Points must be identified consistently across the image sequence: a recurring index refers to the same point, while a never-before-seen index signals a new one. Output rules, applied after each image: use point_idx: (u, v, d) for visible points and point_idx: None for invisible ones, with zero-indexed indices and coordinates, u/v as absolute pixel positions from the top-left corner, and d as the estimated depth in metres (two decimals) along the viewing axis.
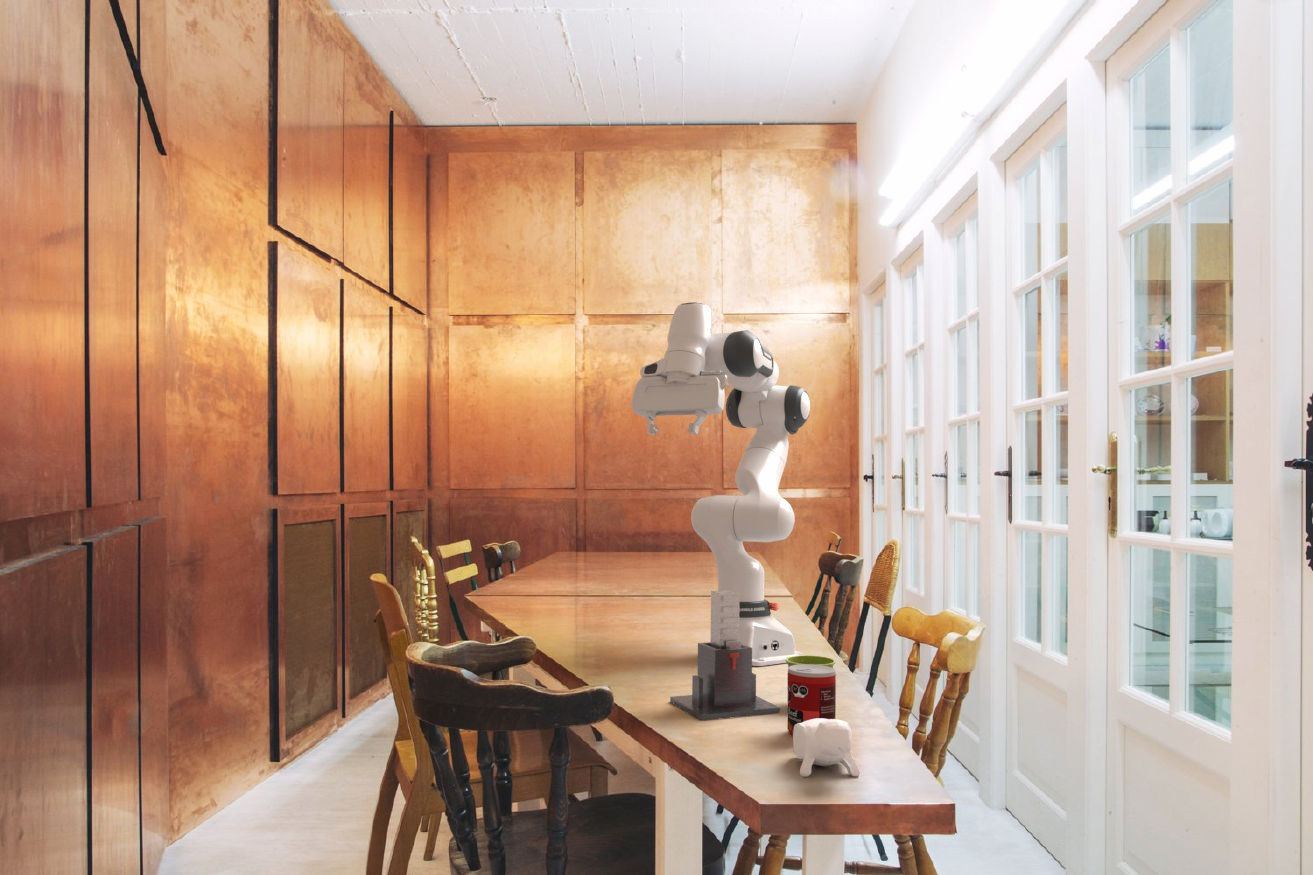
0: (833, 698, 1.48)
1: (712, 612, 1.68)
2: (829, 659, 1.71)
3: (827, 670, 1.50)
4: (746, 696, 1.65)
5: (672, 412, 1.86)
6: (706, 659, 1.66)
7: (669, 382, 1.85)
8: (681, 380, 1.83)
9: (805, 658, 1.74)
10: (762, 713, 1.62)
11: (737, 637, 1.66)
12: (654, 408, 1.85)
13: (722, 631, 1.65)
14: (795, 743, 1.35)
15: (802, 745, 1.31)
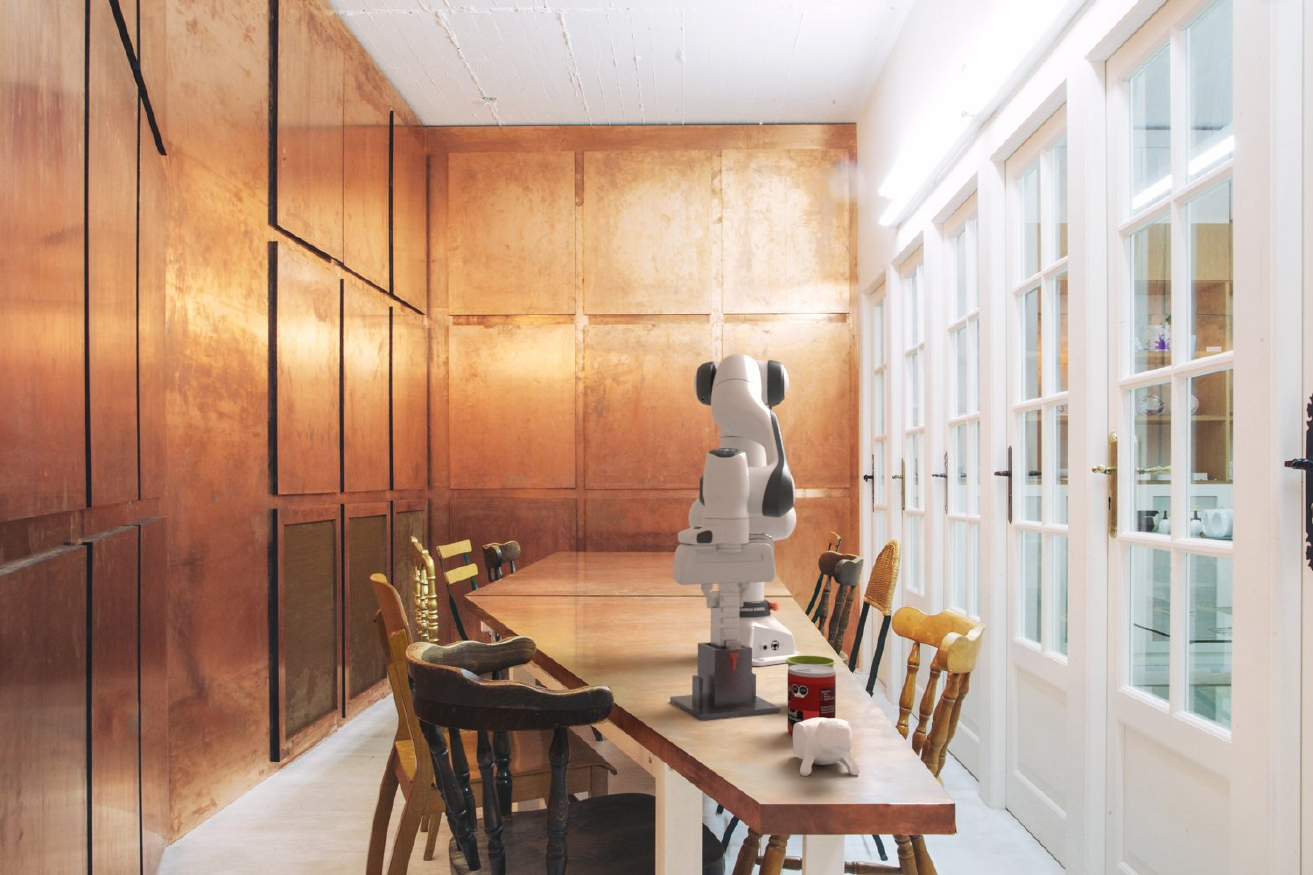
0: (833, 698, 1.48)
1: (712, 612, 1.68)
2: (829, 659, 1.71)
3: (827, 670, 1.50)
4: (746, 696, 1.65)
5: None
6: (706, 659, 1.66)
7: None
8: (739, 551, 1.66)
9: (805, 658, 1.74)
10: (762, 713, 1.62)
11: (737, 637, 1.66)
12: (708, 582, 1.65)
13: (722, 631, 1.65)
14: (794, 742, 1.35)
15: (802, 744, 1.32)
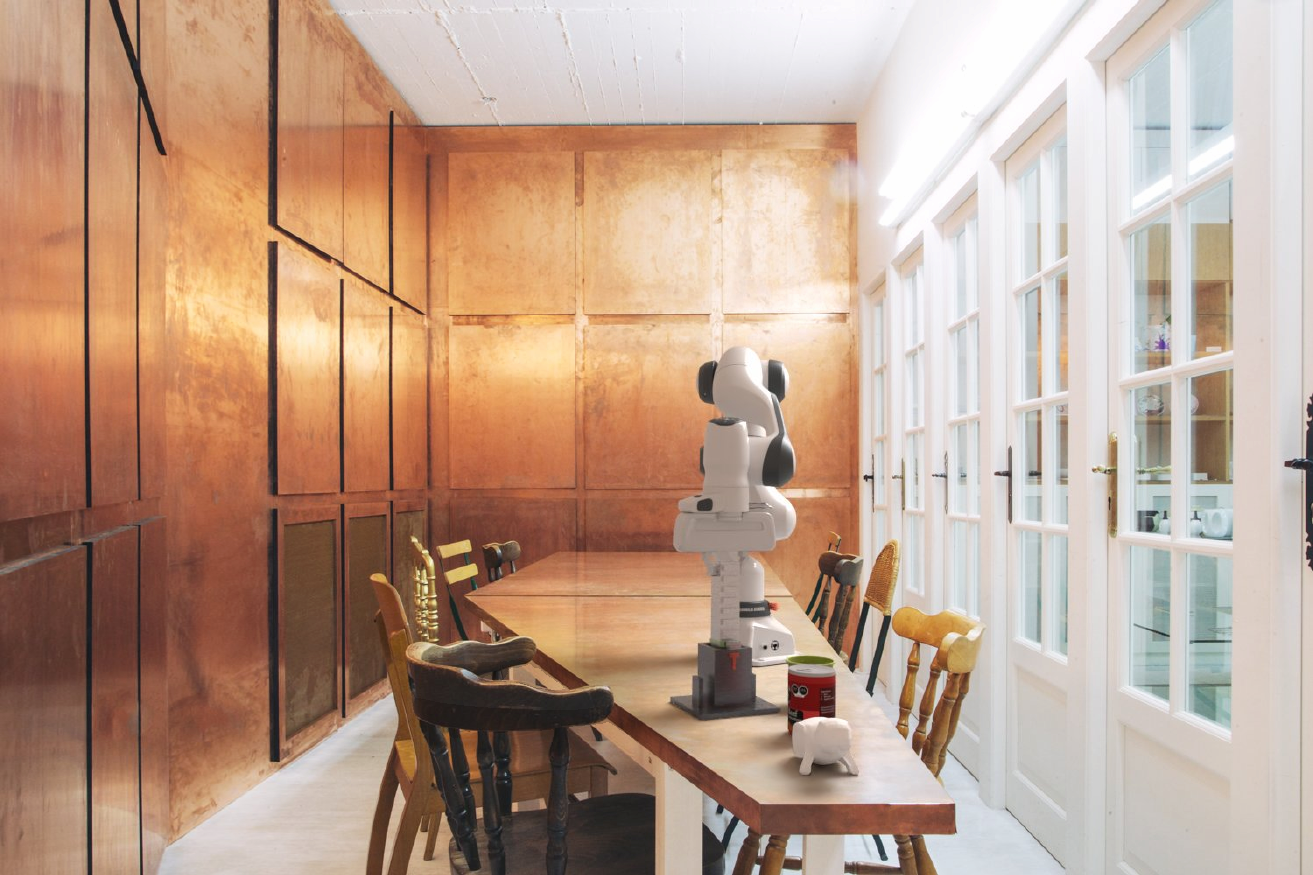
0: (833, 698, 1.48)
1: (712, 582, 1.69)
2: (829, 659, 1.71)
3: (827, 670, 1.50)
4: (746, 696, 1.65)
5: None
6: (706, 659, 1.66)
7: (724, 520, 1.66)
8: (739, 519, 1.67)
9: (805, 658, 1.74)
10: (762, 713, 1.62)
11: (737, 606, 1.67)
12: (709, 550, 1.65)
13: (722, 600, 1.65)
14: (794, 742, 1.36)
15: (801, 743, 1.32)
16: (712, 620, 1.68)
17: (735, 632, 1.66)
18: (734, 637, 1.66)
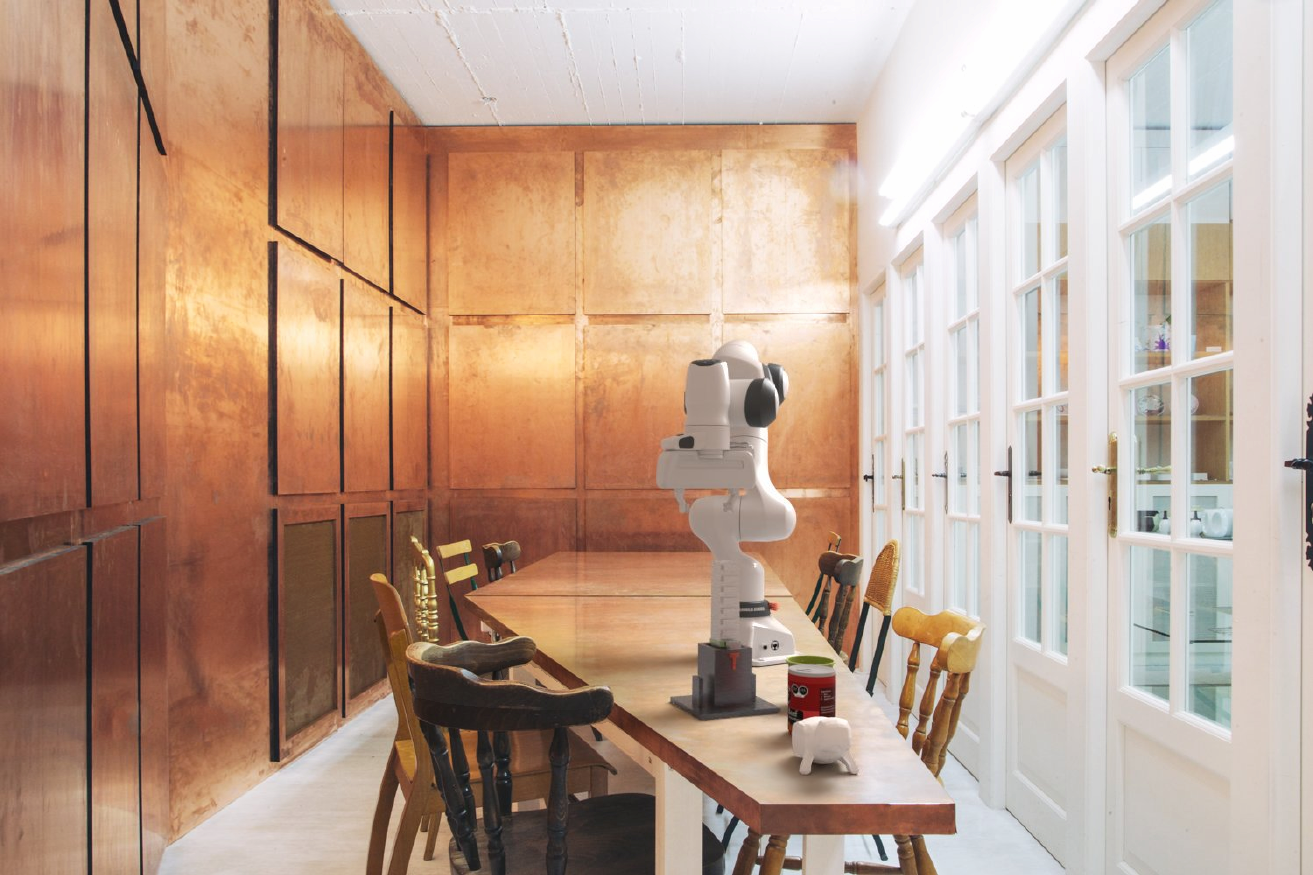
0: (833, 698, 1.48)
1: (712, 581, 1.69)
2: (829, 659, 1.71)
3: (827, 670, 1.50)
4: (746, 696, 1.65)
5: None
6: (706, 659, 1.66)
7: (705, 458, 1.71)
8: (720, 457, 1.71)
9: (805, 658, 1.74)
10: (762, 713, 1.62)
11: (737, 606, 1.67)
12: (691, 487, 1.70)
13: (722, 600, 1.65)
14: (794, 742, 1.36)
15: (801, 743, 1.32)
16: (712, 620, 1.68)
17: (735, 632, 1.66)
18: (734, 637, 1.66)
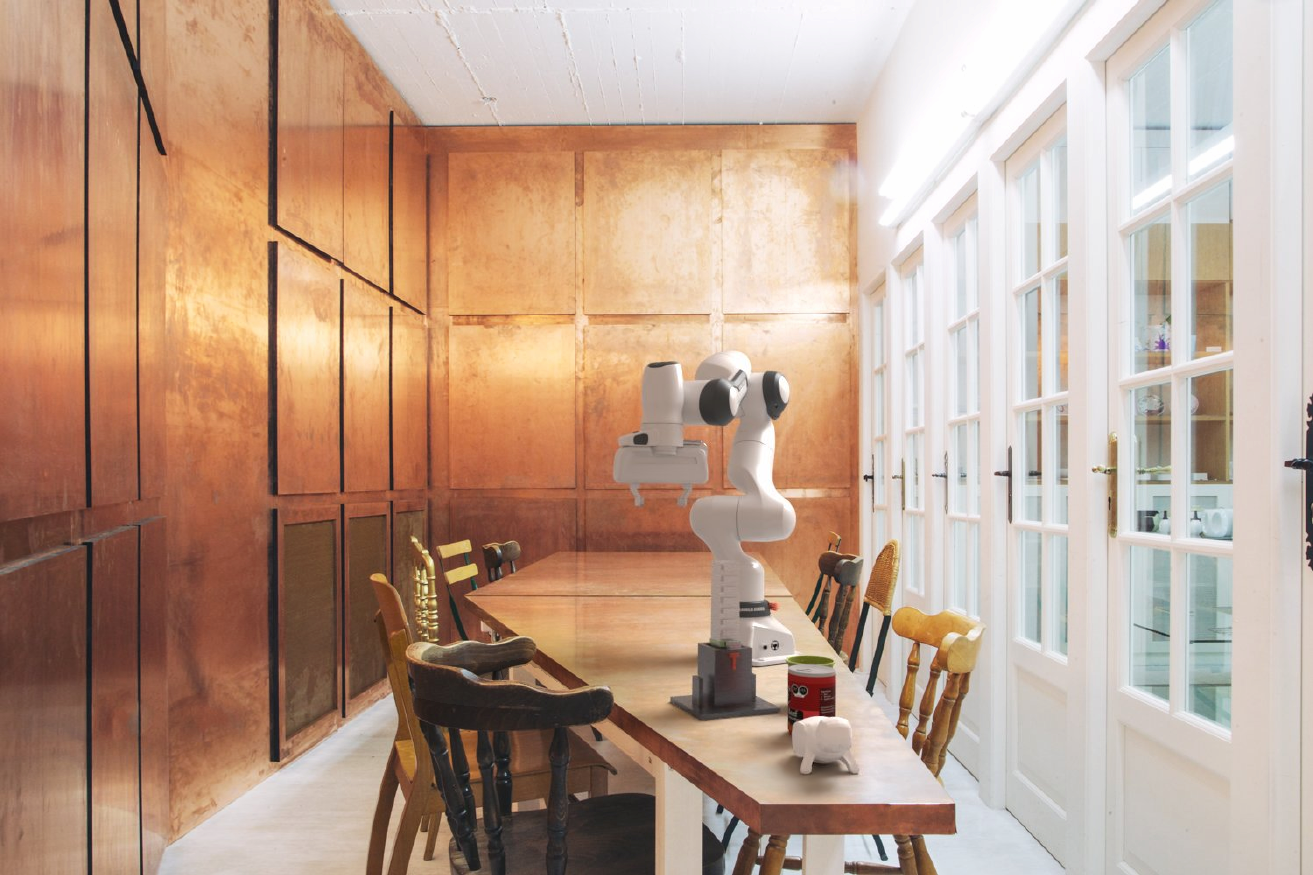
0: (833, 698, 1.48)
1: (712, 581, 1.69)
2: (829, 659, 1.71)
3: (827, 670, 1.50)
4: (746, 696, 1.65)
5: None
6: (706, 659, 1.66)
7: None
8: (673, 454, 1.82)
9: (805, 658, 1.74)
10: (762, 713, 1.62)
11: (737, 606, 1.67)
12: (645, 481, 1.80)
13: (722, 600, 1.65)
14: (794, 741, 1.36)
15: (802, 742, 1.33)
16: (712, 620, 1.68)
17: (735, 632, 1.66)
18: (734, 637, 1.66)
